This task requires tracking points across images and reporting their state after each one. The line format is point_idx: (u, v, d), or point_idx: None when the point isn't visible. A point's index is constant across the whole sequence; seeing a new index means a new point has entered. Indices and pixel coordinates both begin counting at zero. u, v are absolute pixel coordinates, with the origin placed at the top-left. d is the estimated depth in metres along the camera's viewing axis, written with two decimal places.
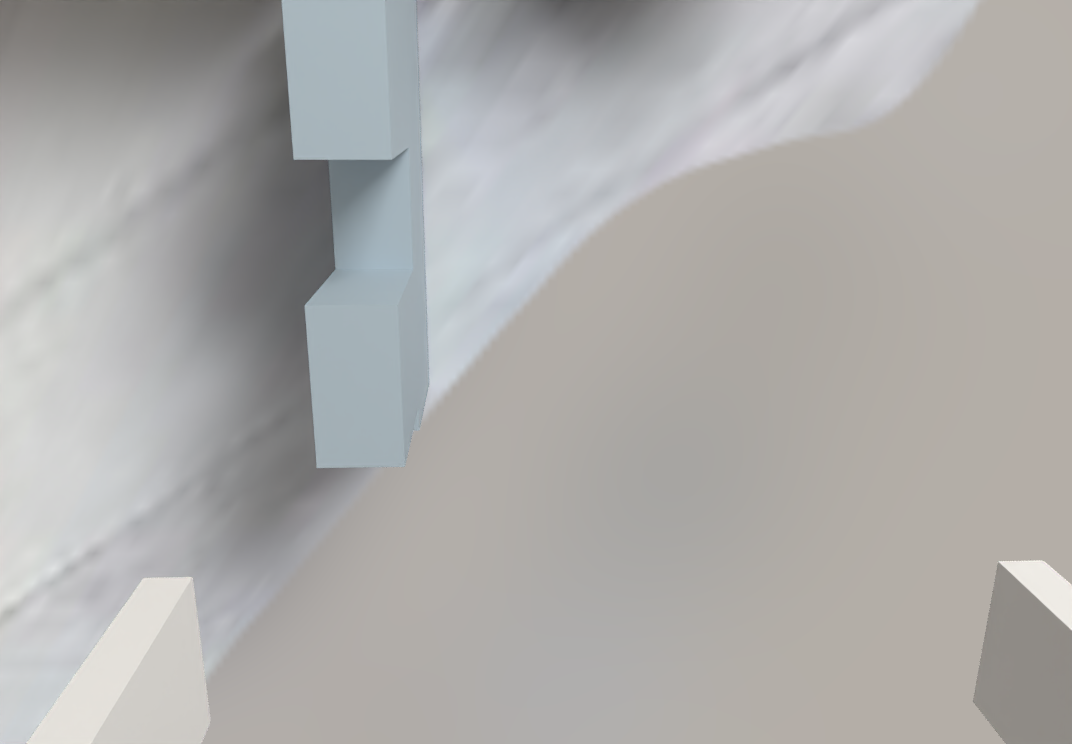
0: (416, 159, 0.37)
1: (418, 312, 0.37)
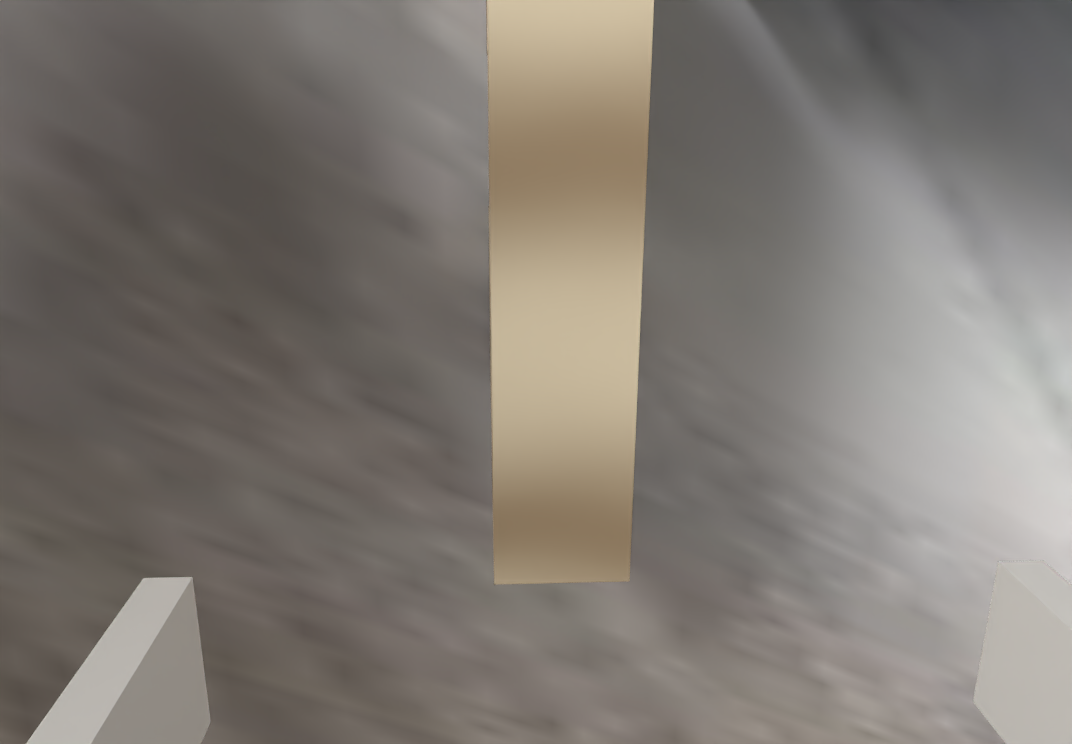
0: None
1: None
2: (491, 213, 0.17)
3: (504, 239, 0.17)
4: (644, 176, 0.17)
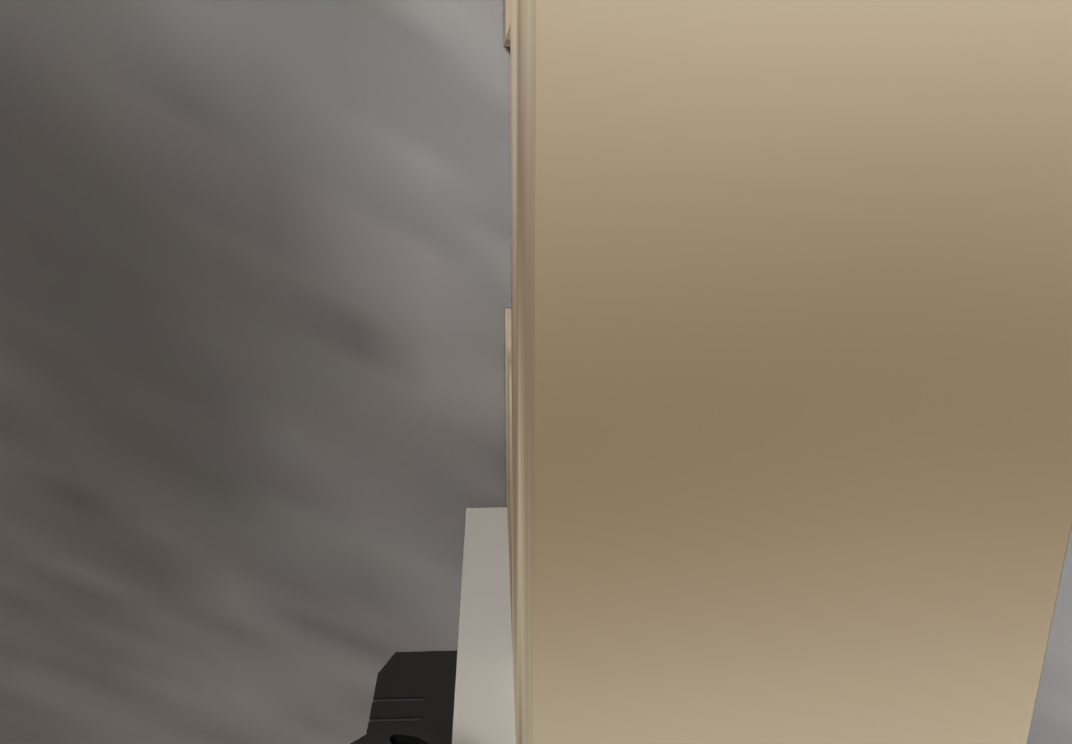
0: None
1: None
2: (537, 568, 0.05)
3: (581, 650, 0.05)
4: None
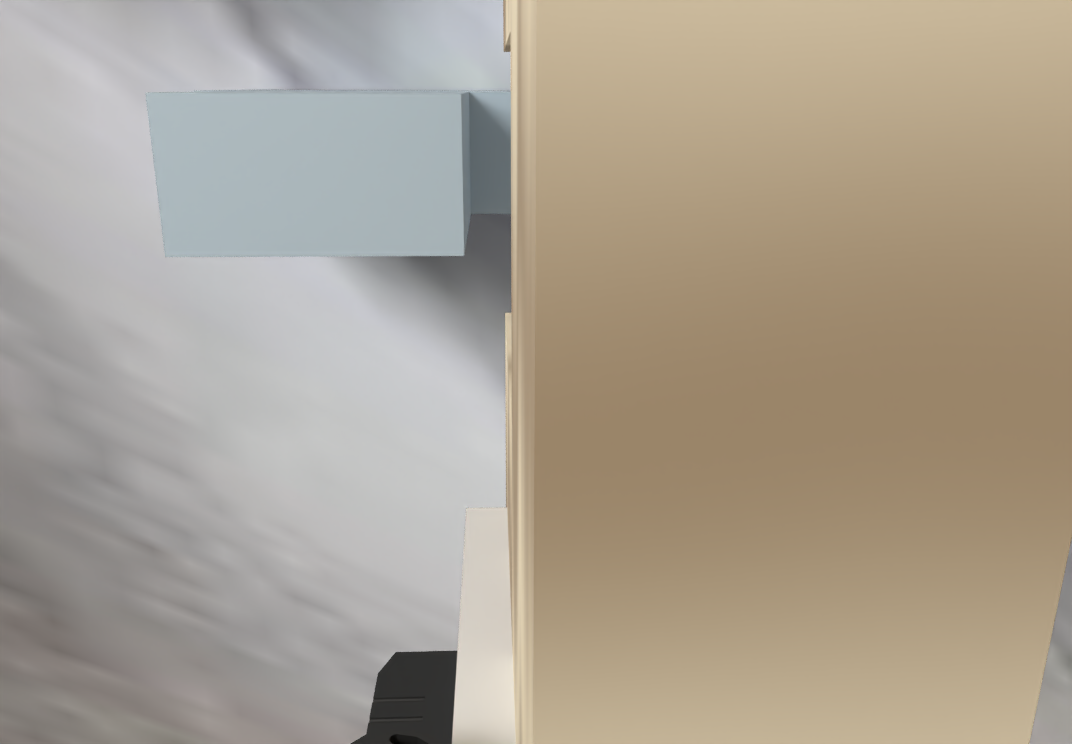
0: (496, 91, 0.25)
1: None
2: (537, 583, 0.05)
3: (579, 664, 0.05)
4: None
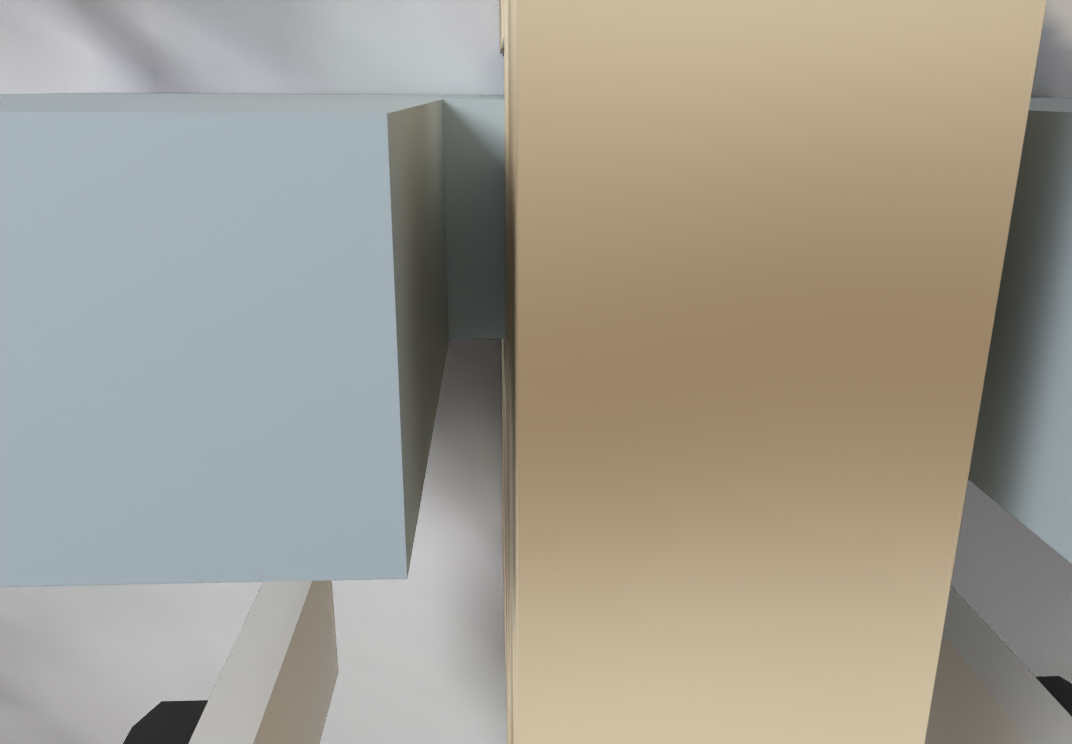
0: (498, 96, 0.14)
1: None
2: (521, 502, 0.06)
3: (558, 571, 0.06)
4: (975, 397, 0.06)
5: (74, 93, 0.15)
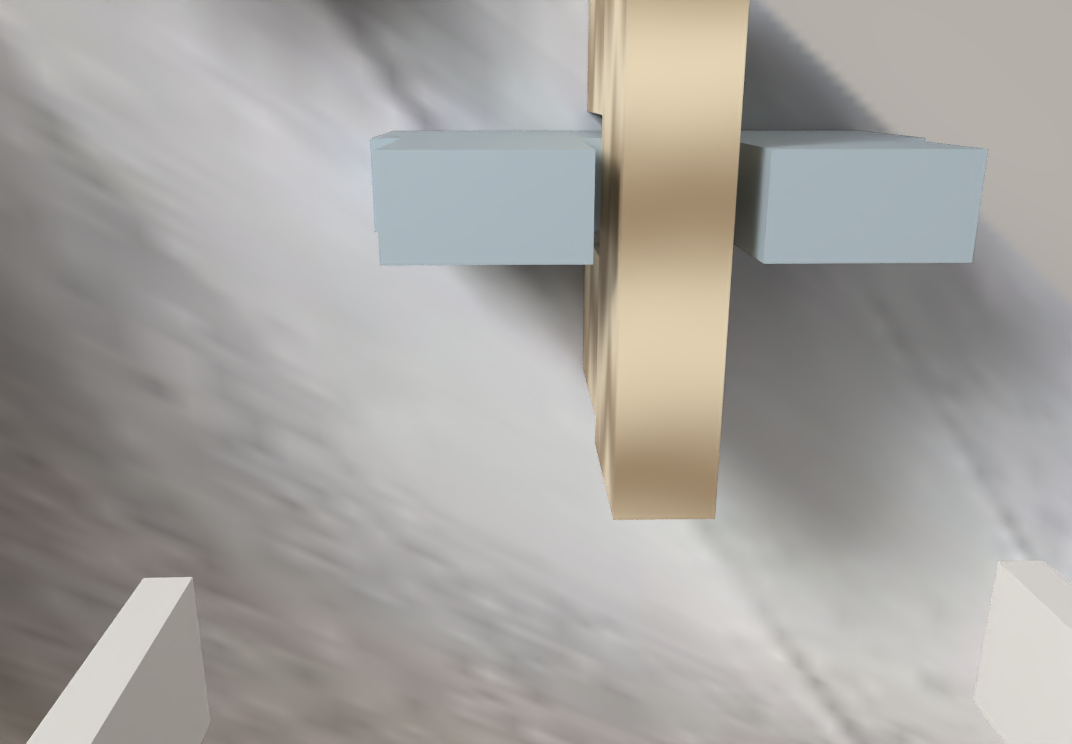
0: (591, 133, 0.32)
1: (771, 135, 0.31)
2: (622, 243, 0.24)
3: (630, 262, 0.24)
4: (733, 217, 0.24)
5: (394, 131, 0.34)
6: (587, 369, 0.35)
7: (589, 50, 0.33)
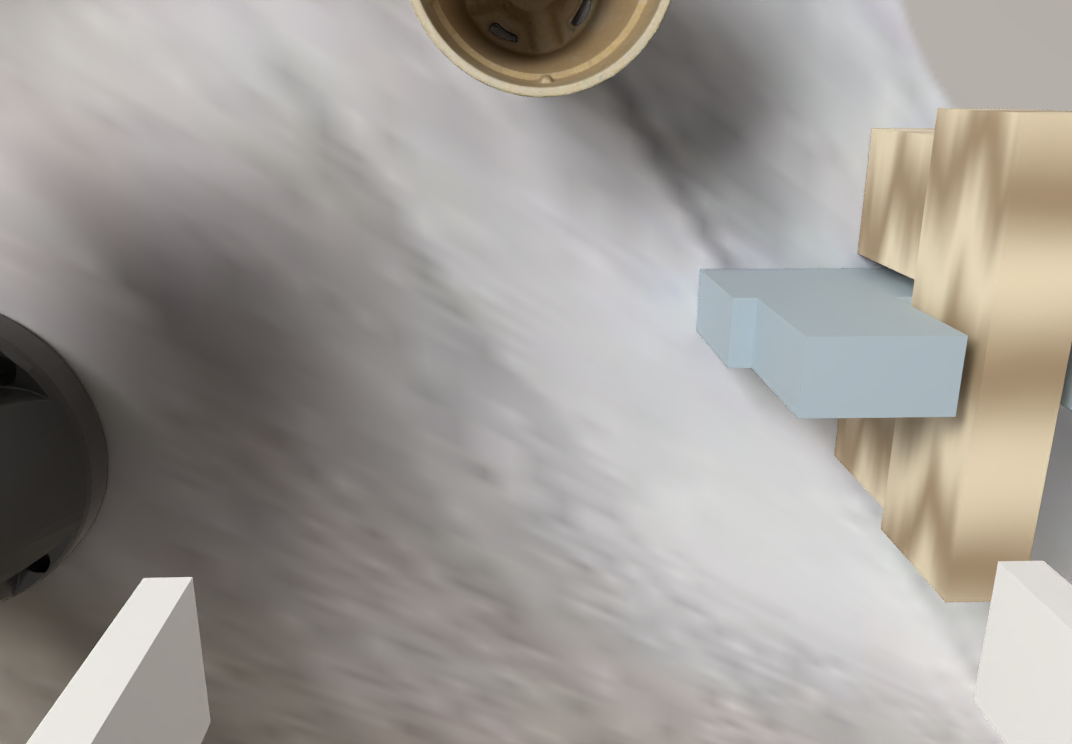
0: (878, 280, 0.40)
1: None
2: (978, 402, 0.32)
3: (983, 415, 0.32)
4: (1062, 382, 0.32)
5: (707, 273, 0.41)
6: (853, 462, 0.43)
7: (867, 208, 0.41)
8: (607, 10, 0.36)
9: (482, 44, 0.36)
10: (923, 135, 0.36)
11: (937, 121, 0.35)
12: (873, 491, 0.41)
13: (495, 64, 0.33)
